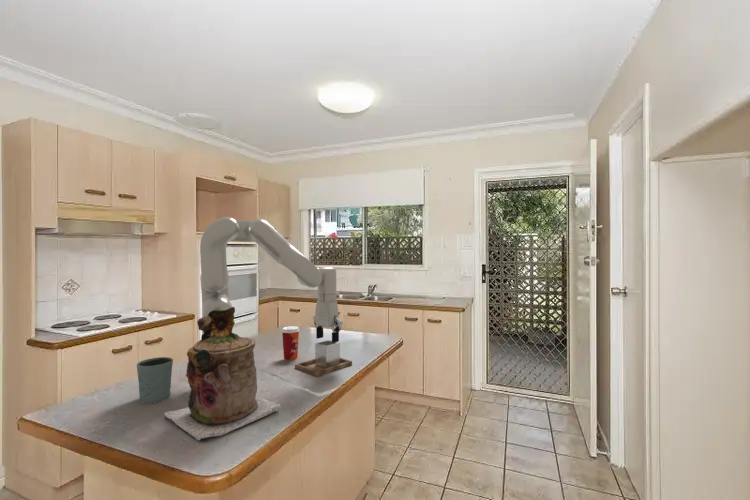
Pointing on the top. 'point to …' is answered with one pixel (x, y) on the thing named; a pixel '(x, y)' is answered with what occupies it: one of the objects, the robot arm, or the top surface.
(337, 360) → the square metal container
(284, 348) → the paper cup
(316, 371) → the walnut tray
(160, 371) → the teal cup
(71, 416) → the top surface
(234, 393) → the cookie jar
